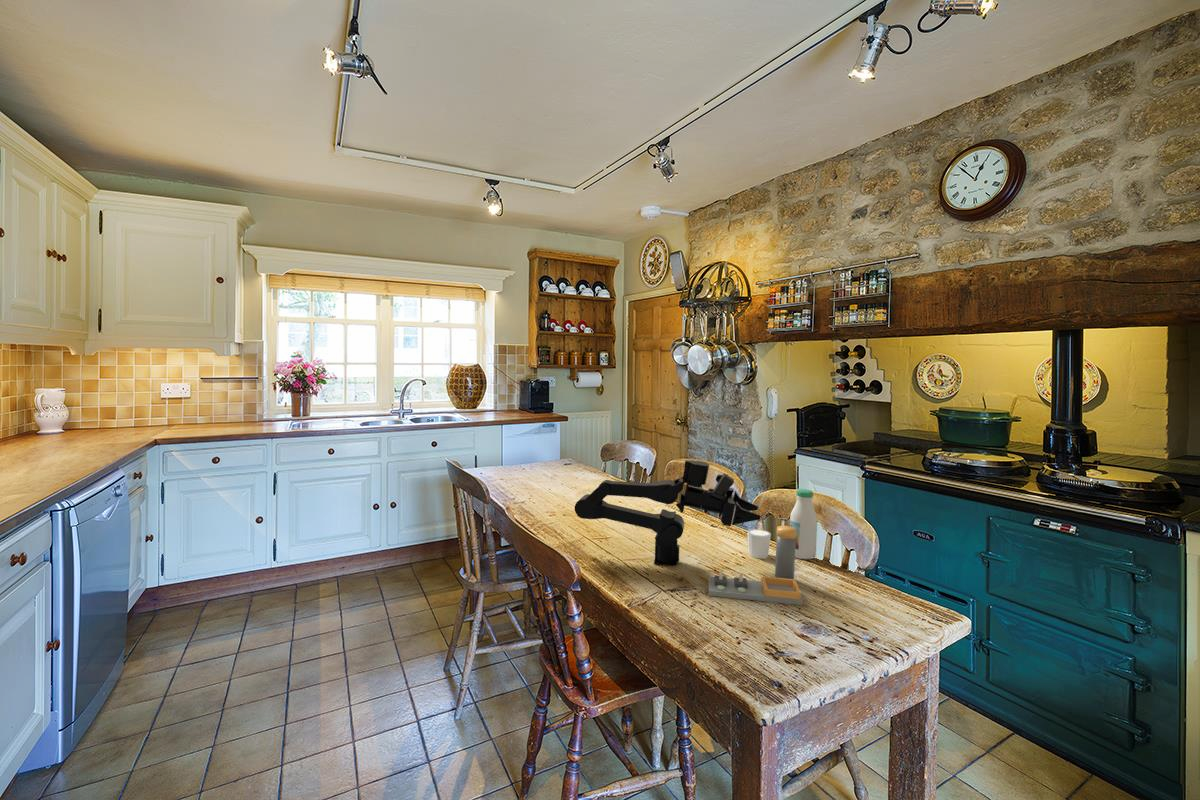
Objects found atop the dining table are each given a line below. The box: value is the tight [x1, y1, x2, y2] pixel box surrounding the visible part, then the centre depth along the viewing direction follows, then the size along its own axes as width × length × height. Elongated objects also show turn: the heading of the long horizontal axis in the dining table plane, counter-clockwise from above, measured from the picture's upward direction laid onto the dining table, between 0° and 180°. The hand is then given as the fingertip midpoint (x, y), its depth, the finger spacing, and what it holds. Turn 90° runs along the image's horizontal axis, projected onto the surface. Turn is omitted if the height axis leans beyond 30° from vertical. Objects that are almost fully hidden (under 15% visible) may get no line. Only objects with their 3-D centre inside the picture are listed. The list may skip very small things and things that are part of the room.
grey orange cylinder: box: [774, 525, 796, 580], centre depth 137 cm, size 5×5×14 cm
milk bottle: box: [789, 488, 818, 560], centre depth 155 cm, size 8×8×20 cm
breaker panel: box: [707, 570, 803, 606], centre depth 129 cm, size 22×9×4 cm, turn 79°
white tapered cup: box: [746, 528, 772, 560], centre depth 155 cm, size 7×7×7 cm
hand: (758, 512), depth 142 cm, fingers open, 9 cm apart
